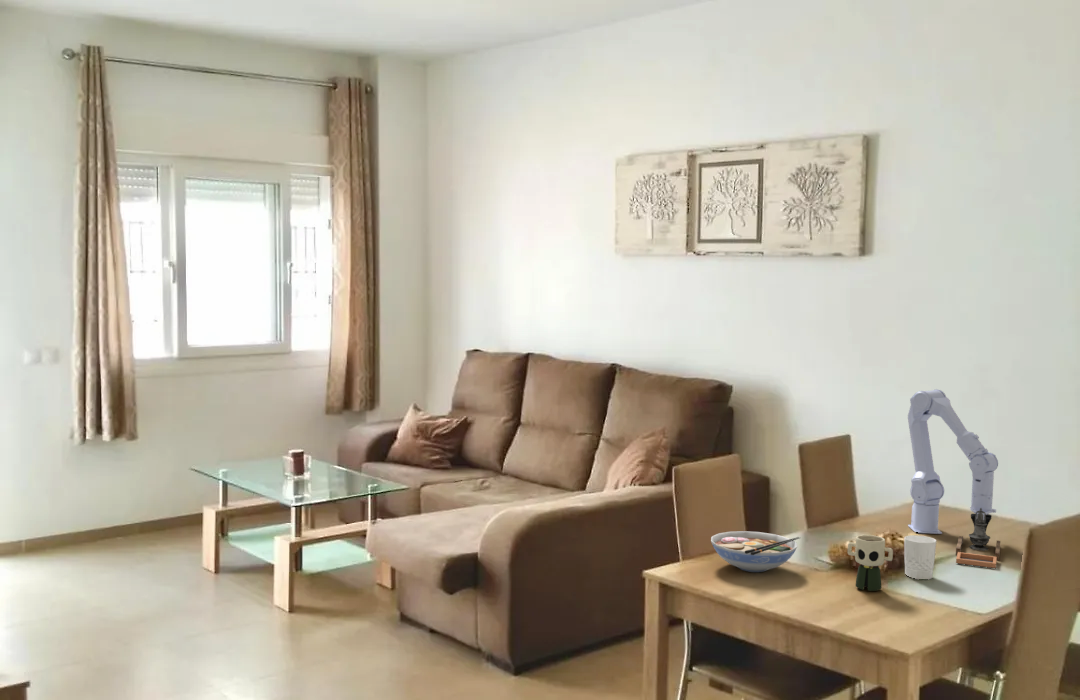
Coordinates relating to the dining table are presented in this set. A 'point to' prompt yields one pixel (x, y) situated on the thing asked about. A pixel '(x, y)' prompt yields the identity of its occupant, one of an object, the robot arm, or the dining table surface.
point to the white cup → (919, 556)
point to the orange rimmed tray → (960, 542)
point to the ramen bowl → (753, 549)
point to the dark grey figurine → (979, 532)
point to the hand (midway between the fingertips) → (979, 538)
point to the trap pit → (976, 560)
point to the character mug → (869, 560)
